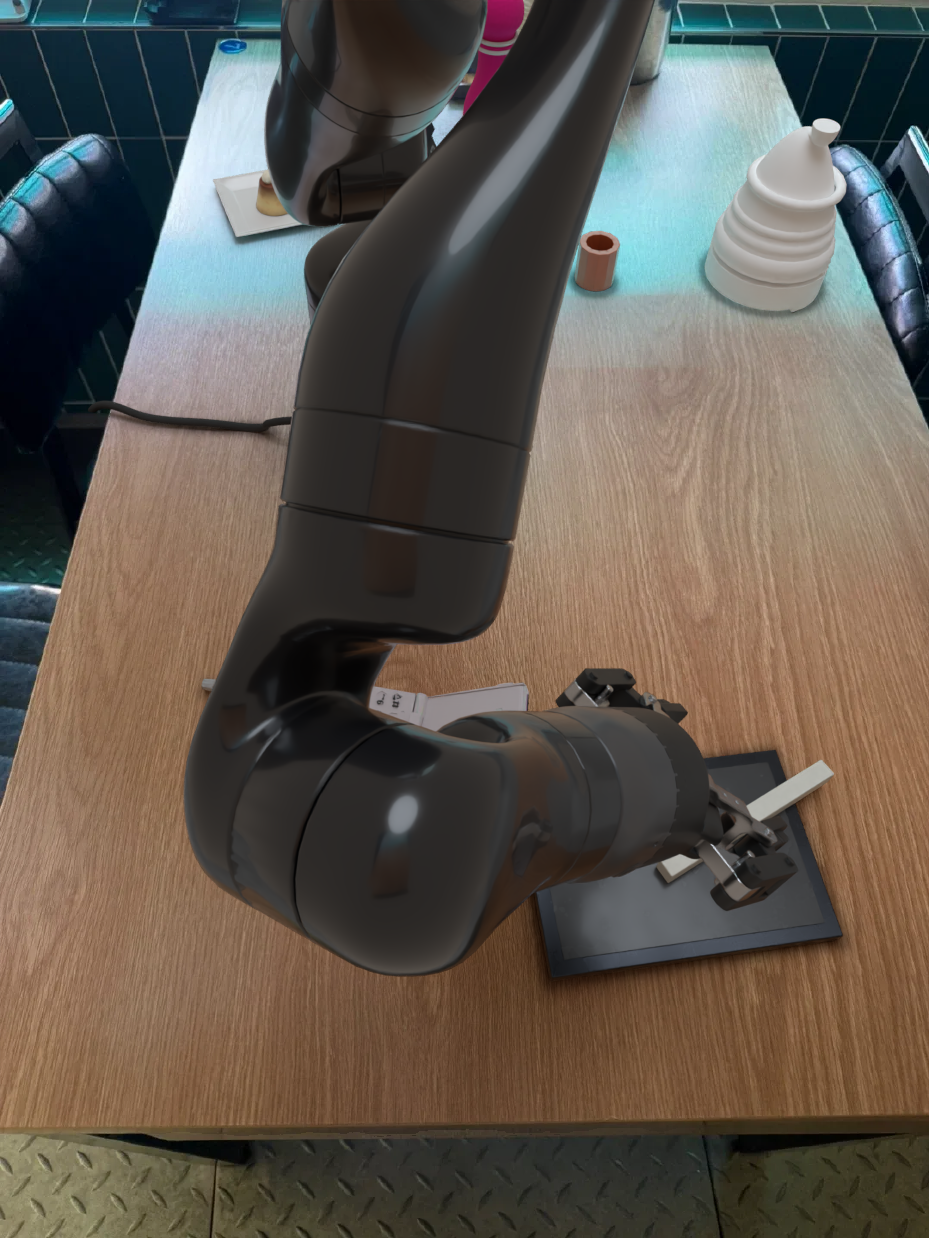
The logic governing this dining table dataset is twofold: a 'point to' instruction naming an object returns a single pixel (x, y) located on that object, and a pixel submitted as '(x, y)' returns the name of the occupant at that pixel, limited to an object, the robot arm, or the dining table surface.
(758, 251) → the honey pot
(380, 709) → the mobile phone
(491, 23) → the pepper mill
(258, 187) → the dessert
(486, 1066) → the dining table surface
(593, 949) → the tablet
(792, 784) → the stylus
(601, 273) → the pen holder
